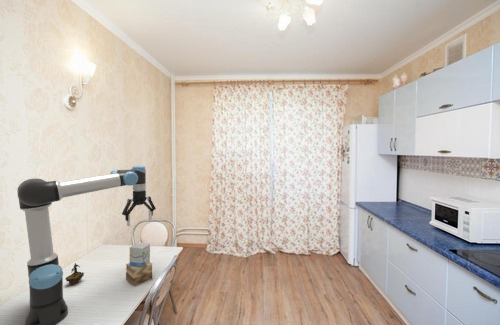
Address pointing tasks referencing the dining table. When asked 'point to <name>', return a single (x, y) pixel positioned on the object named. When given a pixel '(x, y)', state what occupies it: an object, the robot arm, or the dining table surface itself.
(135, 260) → the ink box
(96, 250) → the dining table surface
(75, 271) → the figurine
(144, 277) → the slab bottom
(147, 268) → the slab top
